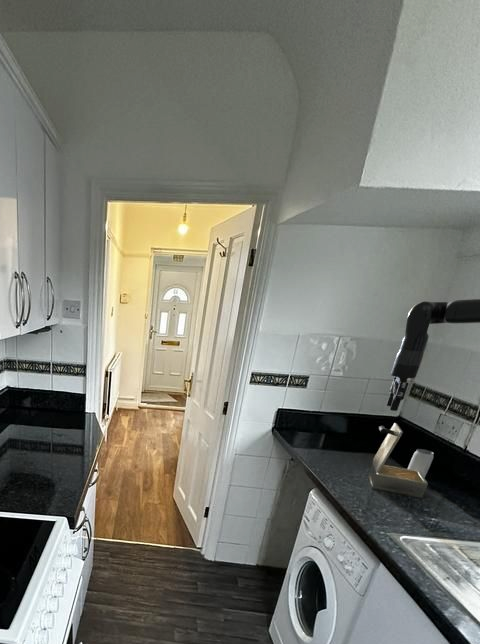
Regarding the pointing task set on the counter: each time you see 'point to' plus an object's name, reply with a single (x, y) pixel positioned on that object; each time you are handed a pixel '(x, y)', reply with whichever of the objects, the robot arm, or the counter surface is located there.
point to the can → (421, 461)
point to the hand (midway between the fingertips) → (391, 408)
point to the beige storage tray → (398, 481)
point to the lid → (386, 446)
